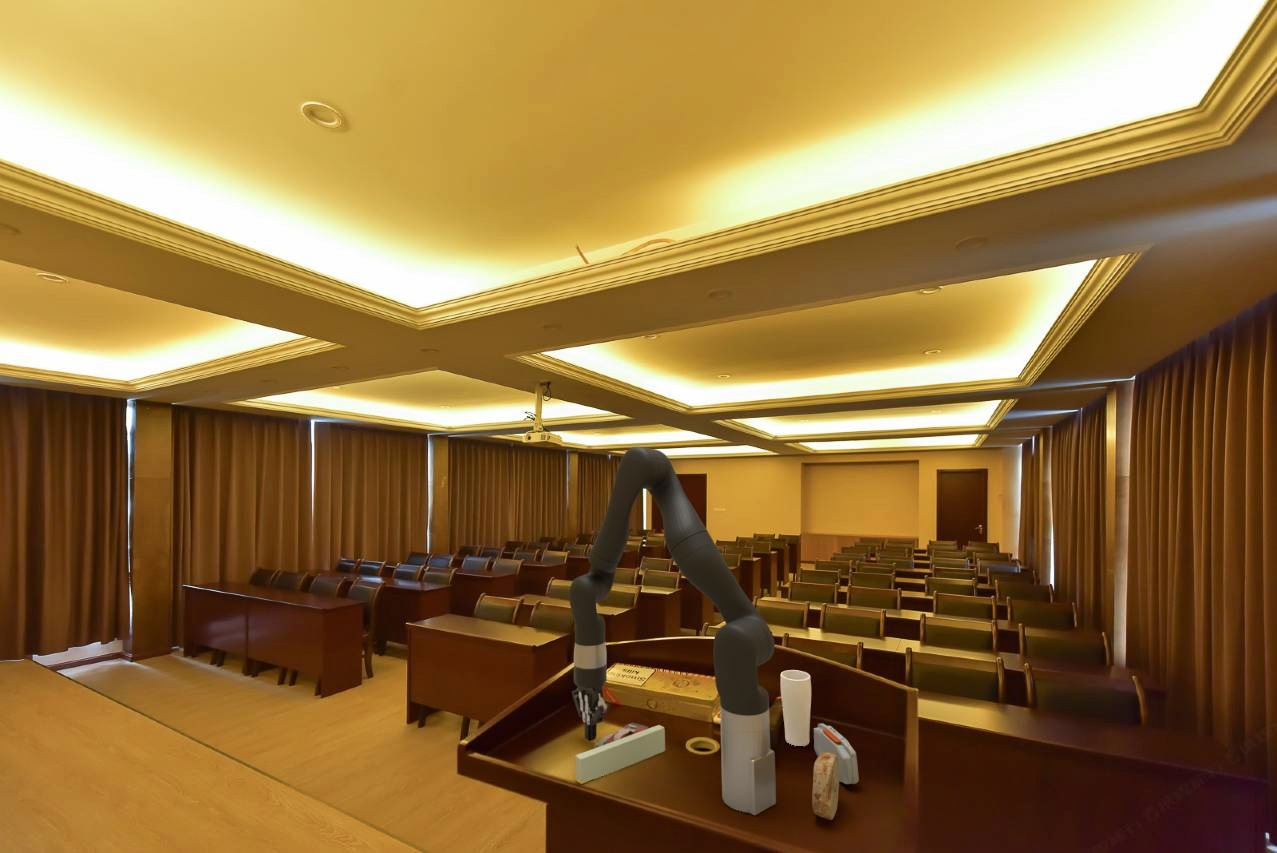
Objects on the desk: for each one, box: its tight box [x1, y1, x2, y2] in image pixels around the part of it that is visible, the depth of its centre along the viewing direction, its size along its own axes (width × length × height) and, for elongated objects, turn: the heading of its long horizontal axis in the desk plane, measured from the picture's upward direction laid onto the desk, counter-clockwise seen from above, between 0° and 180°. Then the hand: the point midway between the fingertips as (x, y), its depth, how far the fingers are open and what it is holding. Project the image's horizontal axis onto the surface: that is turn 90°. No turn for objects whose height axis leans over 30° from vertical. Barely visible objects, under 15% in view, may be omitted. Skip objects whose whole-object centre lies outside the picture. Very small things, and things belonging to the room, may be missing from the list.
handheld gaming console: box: [813, 722, 860, 785], centre depth 119 cm, size 14×3×8 cm, turn 11°
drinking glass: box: [780, 669, 812, 747], centre depth 133 cm, size 7×7×15 cm
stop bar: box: [574, 724, 666, 782], centre depth 123 cm, size 2×22×5 cm, turn 128°
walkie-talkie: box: [592, 722, 649, 749], centre depth 129 cm, size 9×4×20 cm
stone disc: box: [811, 753, 840, 821], centre depth 106 cm, size 10×4×10 cm, turn 150°
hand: (590, 739), depth 133 cm, fingers closed
